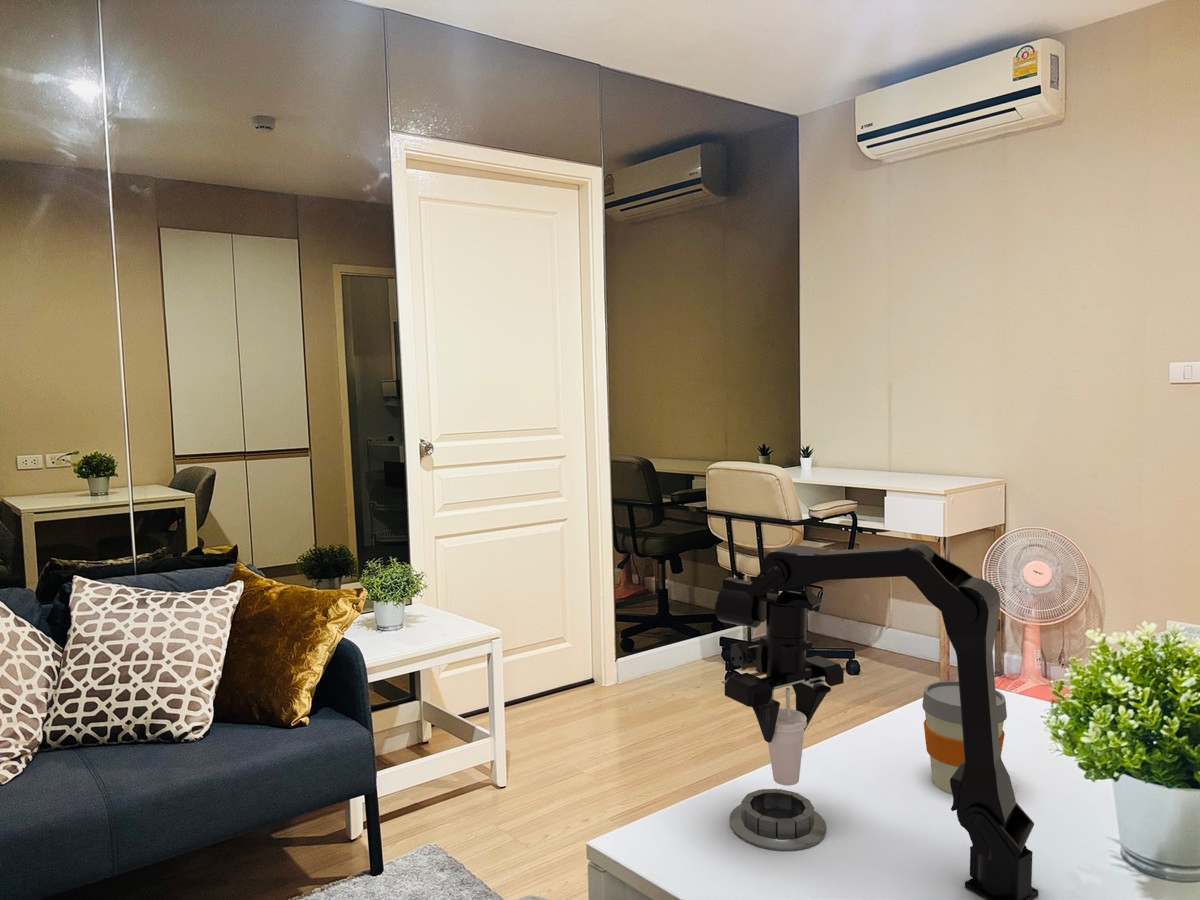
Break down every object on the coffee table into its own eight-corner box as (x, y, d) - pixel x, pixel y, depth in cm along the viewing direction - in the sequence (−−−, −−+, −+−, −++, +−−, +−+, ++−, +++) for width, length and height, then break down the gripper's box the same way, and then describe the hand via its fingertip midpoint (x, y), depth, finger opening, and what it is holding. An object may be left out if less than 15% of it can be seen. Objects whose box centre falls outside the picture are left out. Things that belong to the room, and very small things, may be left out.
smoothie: (808, 791, 126) (806, 698, 124) (763, 788, 127) (760, 696, 125) (808, 770, 132) (806, 681, 130) (764, 767, 133) (762, 679, 132)
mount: (846, 832, 127) (847, 811, 127) (776, 861, 119) (776, 839, 119) (778, 794, 139) (778, 775, 138) (710, 818, 131) (710, 798, 131)
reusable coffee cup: (925, 798, 137) (927, 705, 136) (916, 763, 149) (918, 677, 148) (1012, 806, 134) (1015, 711, 133) (996, 770, 146) (998, 683, 145)
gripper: (793, 610, 139) (792, 706, 140) (700, 629, 129) (700, 731, 131) (847, 628, 129) (845, 730, 131) (751, 649, 120) (750, 759, 121)
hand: (784, 736), depth 129 cm, fingers closed on smoothie, 6 cm apart
